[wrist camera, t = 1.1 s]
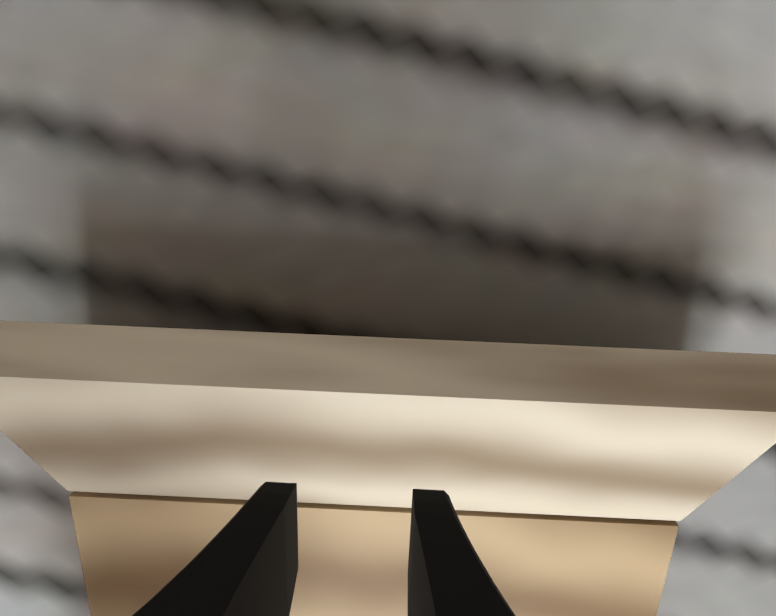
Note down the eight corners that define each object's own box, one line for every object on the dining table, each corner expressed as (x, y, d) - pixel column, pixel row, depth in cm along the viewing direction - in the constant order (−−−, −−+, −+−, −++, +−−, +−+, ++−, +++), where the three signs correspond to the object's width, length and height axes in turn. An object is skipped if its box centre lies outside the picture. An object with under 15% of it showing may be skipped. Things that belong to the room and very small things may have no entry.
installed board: (621, 634, 24) (640, 676, 22) (120, 608, 24) (96, 647, 23) (658, 478, 21) (682, 511, 20) (95, 452, 22) (66, 481, 20)
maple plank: (663, 471, 21) (680, 521, 20) (89, 444, 21) (67, 490, 20) (776, 354, 15) (811, 413, 14) (-20, 320, 15) (-62, 374, 14)
